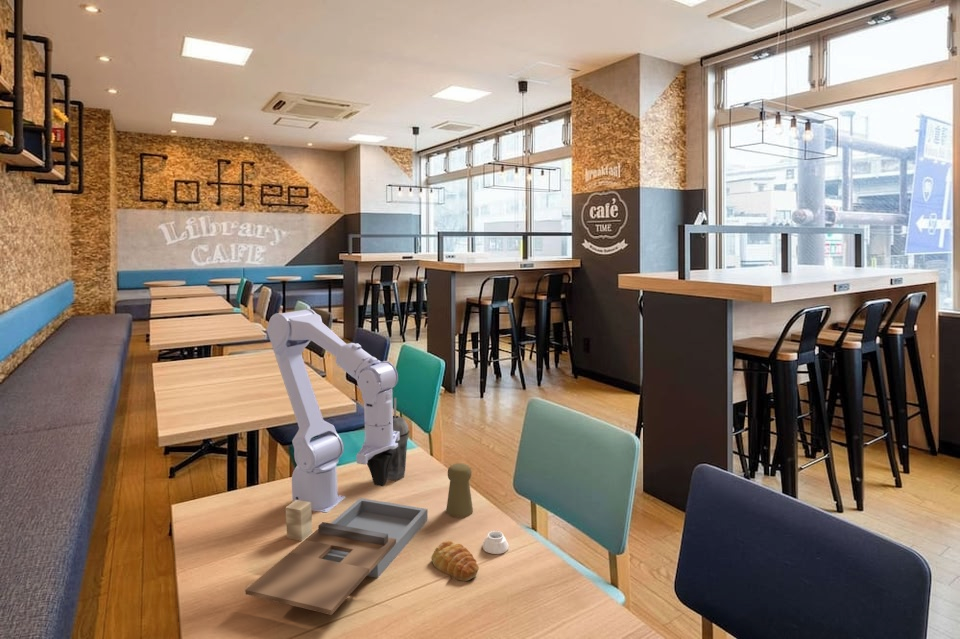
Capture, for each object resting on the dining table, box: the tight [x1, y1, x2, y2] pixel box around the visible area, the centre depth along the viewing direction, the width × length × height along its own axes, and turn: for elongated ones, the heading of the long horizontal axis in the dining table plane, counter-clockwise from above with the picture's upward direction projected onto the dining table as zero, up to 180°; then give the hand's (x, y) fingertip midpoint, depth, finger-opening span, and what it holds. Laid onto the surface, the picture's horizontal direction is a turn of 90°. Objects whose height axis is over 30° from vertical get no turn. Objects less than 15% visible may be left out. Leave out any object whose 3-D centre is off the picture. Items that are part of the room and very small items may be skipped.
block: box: [285, 500, 313, 542], centre depth 119 cm, size 4×4×7 cm
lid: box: [244, 521, 396, 616], centre depth 104 cm, size 16×22×2 cm
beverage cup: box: [387, 397, 410, 481], centre depth 147 cm, size 7×7×20 cm
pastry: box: [430, 540, 480, 582], centre depth 109 cm, size 9×7×4 cm
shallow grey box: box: [322, 497, 428, 579], centre depth 118 cm, size 16×22×3 cm
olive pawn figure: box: [445, 462, 474, 519], centre depth 129 cm, size 6×6×11 cm
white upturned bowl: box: [482, 530, 510, 555], centre depth 116 cm, size 5×3×5 cm
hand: (379, 484), depth 124 cm, fingers closed
